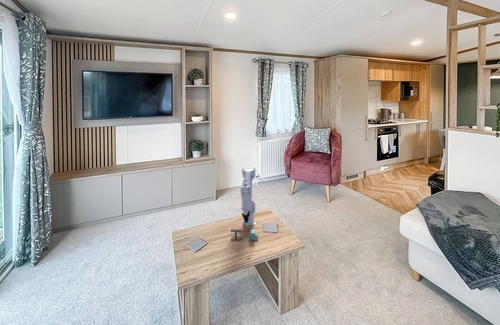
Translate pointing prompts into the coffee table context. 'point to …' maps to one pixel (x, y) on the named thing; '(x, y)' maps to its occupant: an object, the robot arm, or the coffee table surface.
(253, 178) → the robot arm
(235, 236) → the stand
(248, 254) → the coffee table surface
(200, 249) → the coffee table surface
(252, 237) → the teal notched block
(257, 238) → the mat
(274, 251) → the coffee table surface
